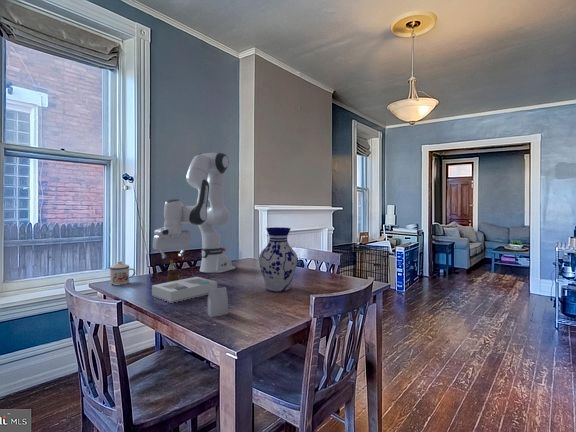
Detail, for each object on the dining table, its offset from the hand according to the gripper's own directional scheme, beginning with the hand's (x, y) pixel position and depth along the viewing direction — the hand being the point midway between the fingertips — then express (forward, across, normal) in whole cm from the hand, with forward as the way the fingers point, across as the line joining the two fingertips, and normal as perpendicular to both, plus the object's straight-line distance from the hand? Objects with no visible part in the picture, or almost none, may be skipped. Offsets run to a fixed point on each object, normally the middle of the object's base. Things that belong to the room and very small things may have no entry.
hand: (172, 257), depth 175 cm
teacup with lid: (+14, +16, -20) cm, 30 cm away
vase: (+14, -29, +48) cm, 57 cm away
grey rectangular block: (+15, +13, +55) cm, 58 cm away
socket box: (+14, +6, +22) cm, 27 cm away
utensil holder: (+14, -1, 0) cm, 14 cm away
